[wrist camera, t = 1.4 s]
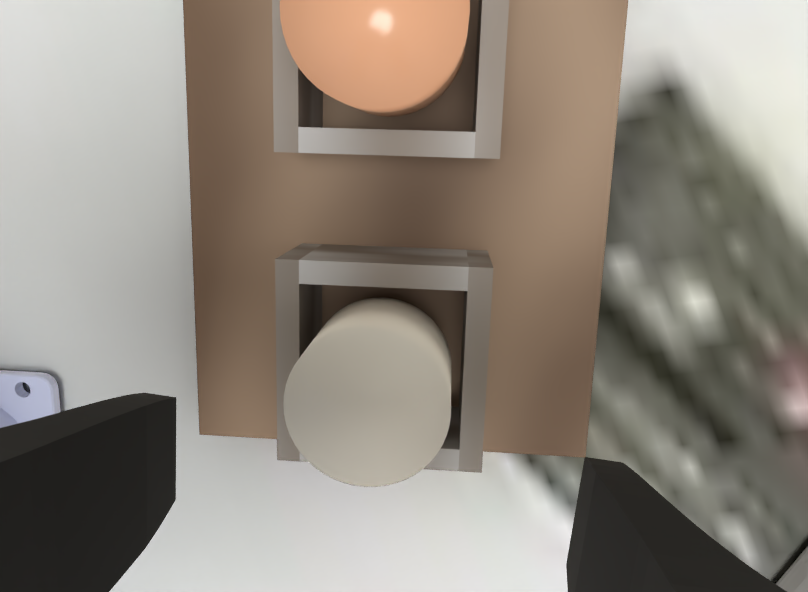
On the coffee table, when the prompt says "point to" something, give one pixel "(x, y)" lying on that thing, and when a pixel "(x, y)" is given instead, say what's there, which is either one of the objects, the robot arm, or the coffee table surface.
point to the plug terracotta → (378, 49)
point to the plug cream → (371, 394)
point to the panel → (407, 217)
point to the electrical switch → (796, 575)
